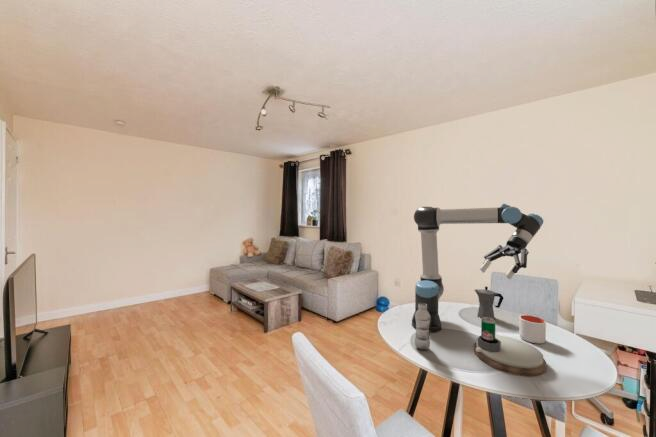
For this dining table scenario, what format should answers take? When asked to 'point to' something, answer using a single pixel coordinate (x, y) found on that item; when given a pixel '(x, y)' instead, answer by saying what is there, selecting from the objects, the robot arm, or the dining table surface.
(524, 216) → the robot arm
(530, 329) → the cup
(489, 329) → the soda can
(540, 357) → the dial
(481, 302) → the coffeepot
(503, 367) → the base
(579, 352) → the dining table surface
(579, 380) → the dining table surface
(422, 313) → the plastic bottle
